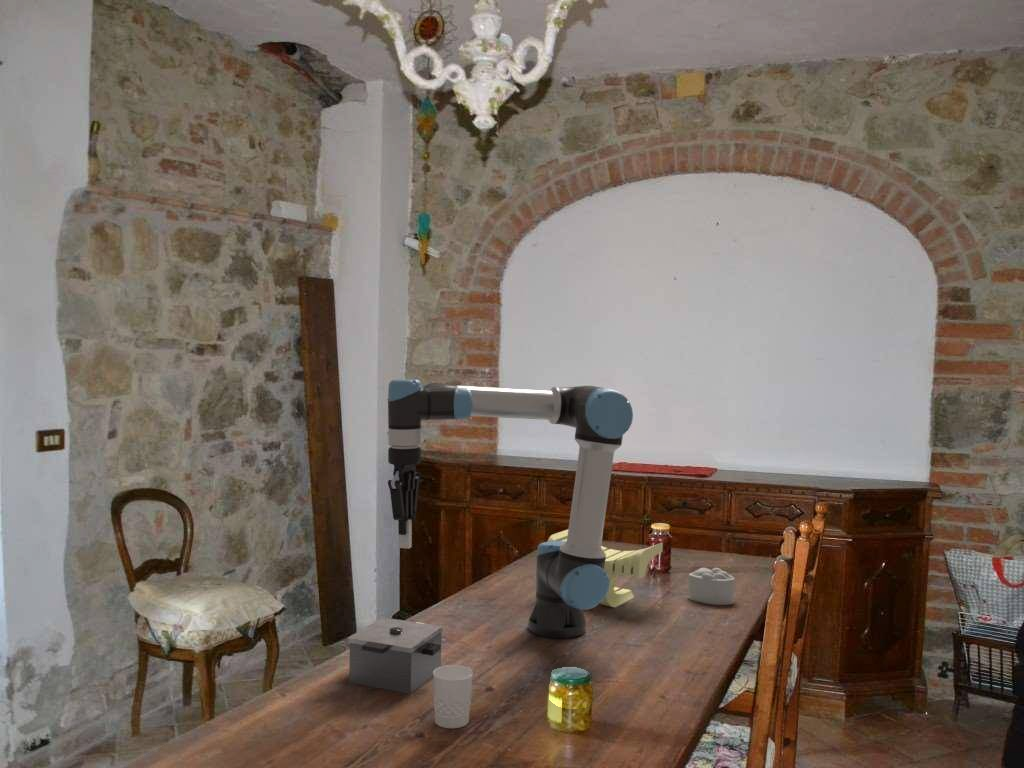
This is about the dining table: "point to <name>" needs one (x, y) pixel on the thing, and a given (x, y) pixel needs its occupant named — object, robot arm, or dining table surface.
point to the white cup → (452, 695)
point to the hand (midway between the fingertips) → (404, 547)
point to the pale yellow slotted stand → (620, 567)
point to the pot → (395, 666)
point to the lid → (394, 635)
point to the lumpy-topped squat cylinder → (711, 586)
